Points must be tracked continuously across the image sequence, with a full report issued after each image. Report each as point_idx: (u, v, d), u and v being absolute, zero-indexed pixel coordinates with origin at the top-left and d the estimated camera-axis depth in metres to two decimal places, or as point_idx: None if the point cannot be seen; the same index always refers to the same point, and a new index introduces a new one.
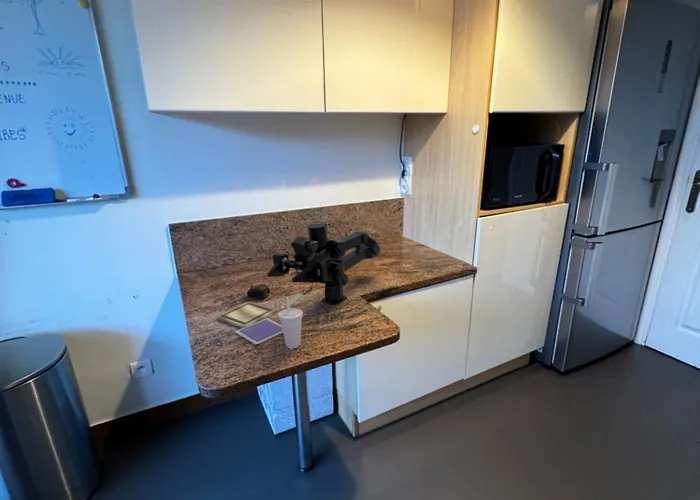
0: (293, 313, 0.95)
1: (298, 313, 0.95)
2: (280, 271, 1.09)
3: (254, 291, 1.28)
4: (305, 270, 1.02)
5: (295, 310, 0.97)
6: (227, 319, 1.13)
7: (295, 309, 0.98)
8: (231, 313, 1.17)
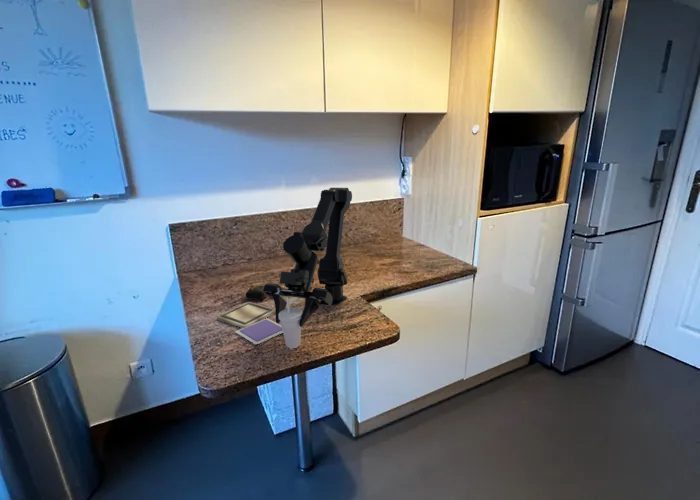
0: (293, 313, 0.95)
1: (298, 313, 0.95)
2: (283, 305, 1.00)
3: (253, 292, 1.27)
4: (306, 308, 0.95)
5: (295, 310, 0.97)
6: (227, 319, 1.13)
7: (295, 309, 0.98)
8: (231, 313, 1.17)
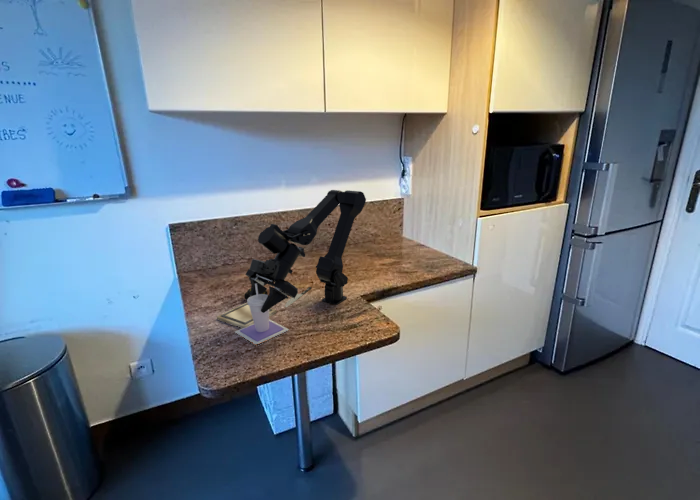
0: (259, 299, 1.02)
1: (264, 300, 1.02)
2: (260, 290, 1.08)
3: None
4: (269, 296, 1.01)
5: (265, 296, 1.04)
6: (227, 319, 1.13)
7: (266, 296, 1.05)
8: (231, 313, 1.17)
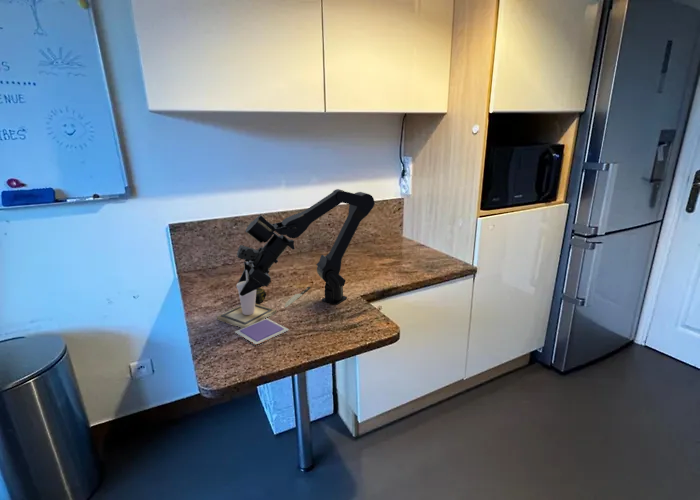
0: None
1: None
2: None
3: None
4: (247, 281, 1.09)
5: None
6: (227, 319, 1.13)
7: None
8: (231, 313, 1.17)
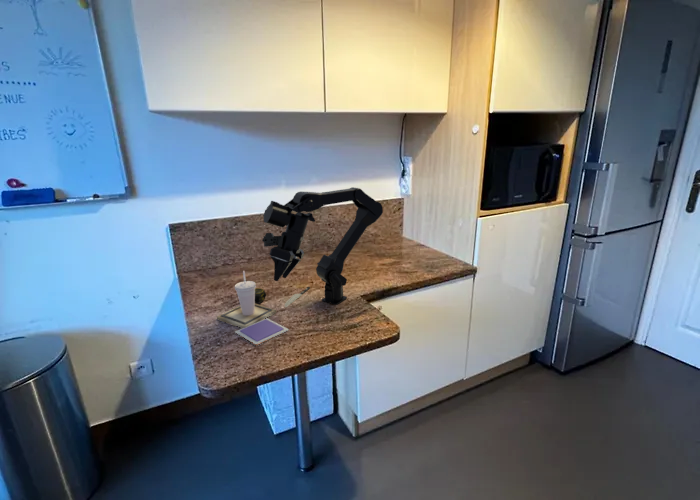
0: (244, 285, 1.13)
1: (247, 287, 1.12)
2: (292, 262, 1.18)
3: None
4: None
5: (251, 284, 1.14)
6: (227, 319, 1.13)
7: (253, 283, 1.14)
8: (231, 313, 1.17)
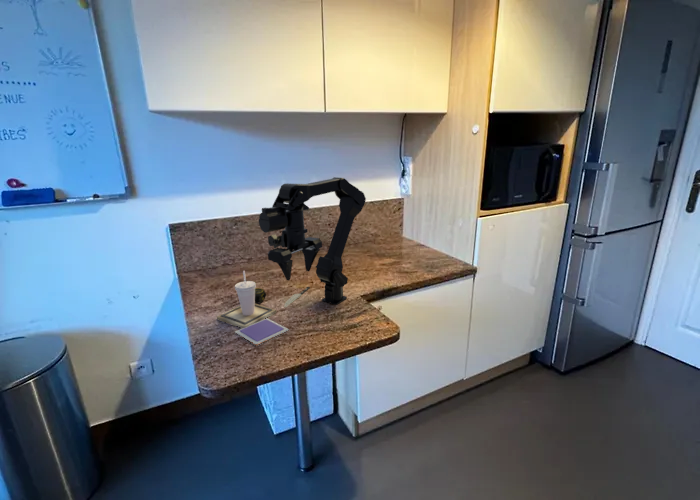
0: (244, 285, 1.13)
1: (247, 286, 1.12)
2: (309, 255, 1.15)
3: None
4: None
5: (251, 284, 1.14)
6: (227, 319, 1.13)
7: (253, 283, 1.15)
8: (231, 313, 1.17)
